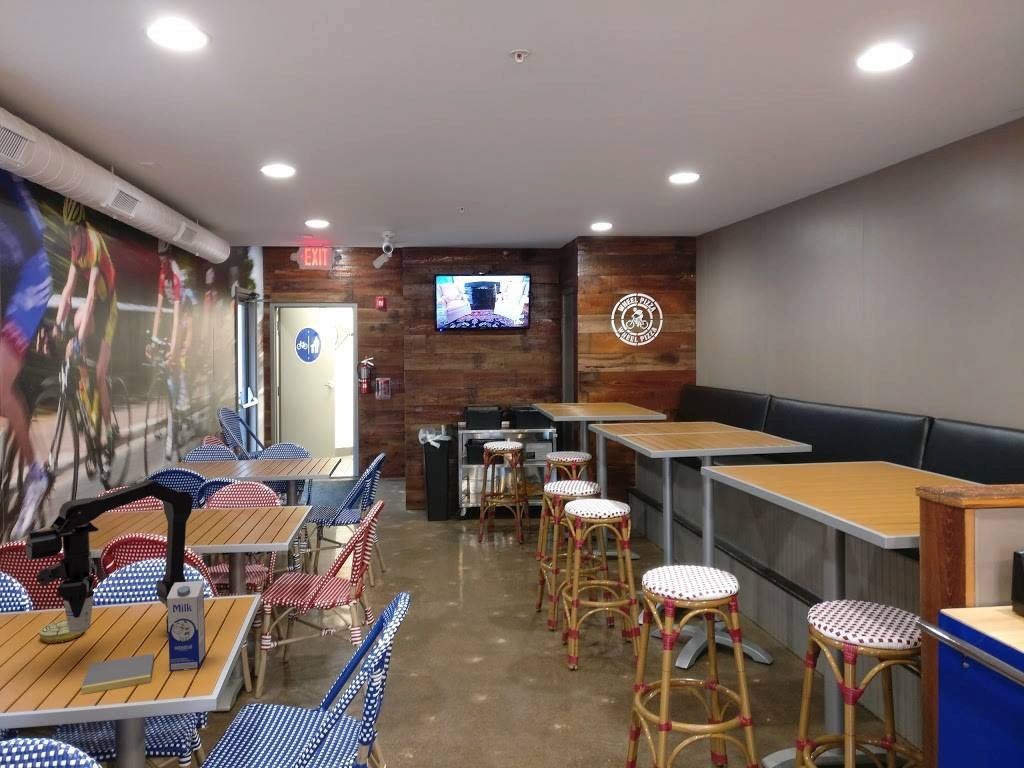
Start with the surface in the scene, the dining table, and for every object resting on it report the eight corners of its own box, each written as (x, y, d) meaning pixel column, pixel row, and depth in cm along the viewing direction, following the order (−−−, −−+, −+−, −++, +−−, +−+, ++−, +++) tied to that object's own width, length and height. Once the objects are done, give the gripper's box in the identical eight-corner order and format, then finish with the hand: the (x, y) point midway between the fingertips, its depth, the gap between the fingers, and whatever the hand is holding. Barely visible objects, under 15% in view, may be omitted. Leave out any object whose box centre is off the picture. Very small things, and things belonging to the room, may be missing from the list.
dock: (154, 659, 180) (153, 653, 180) (150, 682, 167) (150, 676, 167) (90, 669, 174) (90, 663, 174) (81, 694, 161) (81, 688, 161)
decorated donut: (69, 627, 202) (68, 614, 202) (93, 633, 197) (93, 620, 197) (31, 641, 193) (30, 627, 192) (55, 647, 188) (55, 633, 188)
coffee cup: (93, 621, 184) (91, 583, 184) (98, 629, 179) (96, 590, 178) (61, 628, 180) (59, 589, 179) (65, 637, 174) (63, 597, 174)
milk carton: (206, 657, 181) (204, 579, 180) (199, 668, 174) (197, 588, 173) (176, 659, 179) (174, 581, 179) (168, 671, 173) (166, 590, 172)
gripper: (46, 546, 183) (48, 605, 184) (30, 565, 166) (33, 631, 167) (95, 541, 188) (98, 599, 189) (85, 559, 171) (87, 623, 172)
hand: (79, 612), depth 179 cm, fingers closed on coffee cup, 7 cm apart
